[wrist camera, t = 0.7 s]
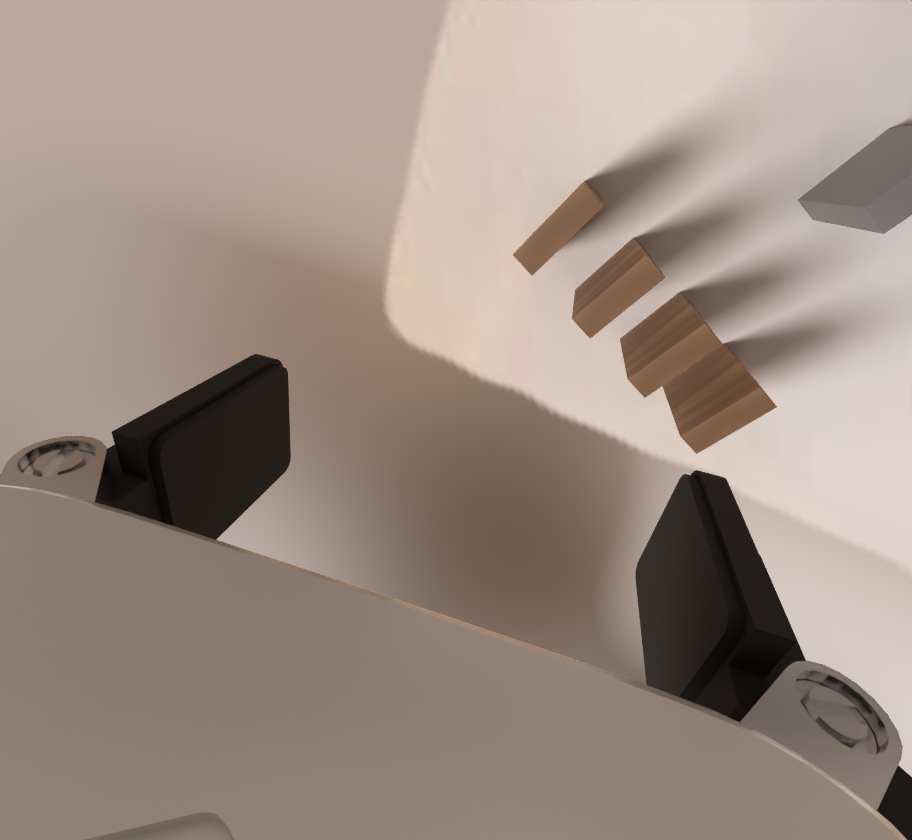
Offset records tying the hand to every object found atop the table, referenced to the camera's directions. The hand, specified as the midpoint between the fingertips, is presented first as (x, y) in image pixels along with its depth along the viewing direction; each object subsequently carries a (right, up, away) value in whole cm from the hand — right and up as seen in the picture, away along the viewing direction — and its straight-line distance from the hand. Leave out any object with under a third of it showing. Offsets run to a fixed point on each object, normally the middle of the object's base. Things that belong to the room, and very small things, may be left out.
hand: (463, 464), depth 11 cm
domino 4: (+18, +5, +24) cm, 30 cm away
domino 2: (+11, +11, +22) cm, 27 cm away
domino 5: (+23, +15, +16) cm, 32 cm away
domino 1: (+7, +15, +21) cm, 27 cm away
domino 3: (+14, +8, +23) cm, 28 cm away
